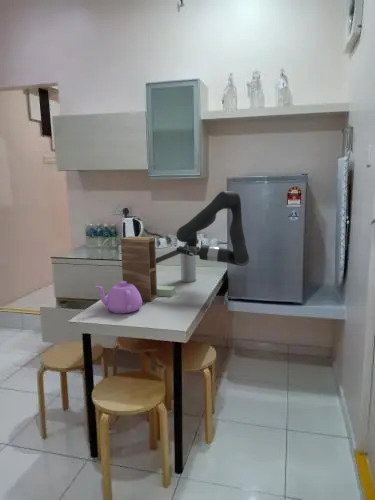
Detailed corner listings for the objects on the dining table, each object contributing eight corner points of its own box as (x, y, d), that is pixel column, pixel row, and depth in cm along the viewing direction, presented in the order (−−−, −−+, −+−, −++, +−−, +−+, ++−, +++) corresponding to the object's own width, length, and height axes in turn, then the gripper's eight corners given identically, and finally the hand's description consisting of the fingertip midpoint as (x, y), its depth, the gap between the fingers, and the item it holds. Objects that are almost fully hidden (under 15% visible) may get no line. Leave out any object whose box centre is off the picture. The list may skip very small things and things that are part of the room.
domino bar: (151, 265, 211) (149, 260, 210) (189, 249, 203) (187, 244, 203) (149, 266, 208) (147, 261, 208) (188, 250, 200) (186, 245, 200)
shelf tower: (131, 294, 211) (128, 236, 205) (157, 297, 206) (155, 237, 200) (123, 299, 202) (120, 238, 197) (150, 302, 197) (147, 239, 192)
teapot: (92, 306, 192) (90, 279, 189) (135, 300, 200) (134, 274, 198) (101, 321, 172) (99, 290, 169) (148, 313, 180) (147, 284, 178)
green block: (148, 291, 218) (148, 284, 217) (175, 293, 212) (175, 286, 212) (143, 294, 211) (143, 288, 210) (171, 296, 206) (171, 290, 205)
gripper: (213, 243, 205) (182, 239, 209) (207, 248, 191) (174, 243, 196) (212, 257, 206) (181, 253, 211) (206, 263, 193) (172, 258, 197)
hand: (177, 248), depth 203 cm, fingers closed on domino bar, 2 cm apart
